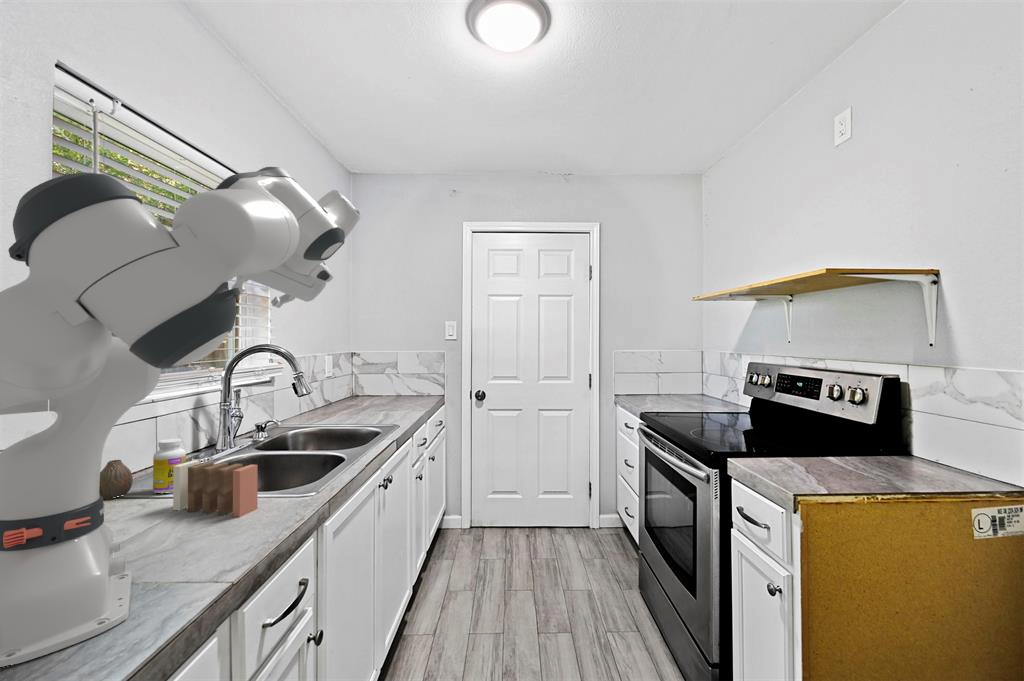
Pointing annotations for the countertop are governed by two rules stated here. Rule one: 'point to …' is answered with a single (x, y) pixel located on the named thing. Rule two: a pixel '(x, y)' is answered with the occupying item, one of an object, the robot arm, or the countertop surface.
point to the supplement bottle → (166, 464)
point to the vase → (115, 479)
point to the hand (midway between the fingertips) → (255, 298)
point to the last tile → (181, 485)
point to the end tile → (244, 490)
